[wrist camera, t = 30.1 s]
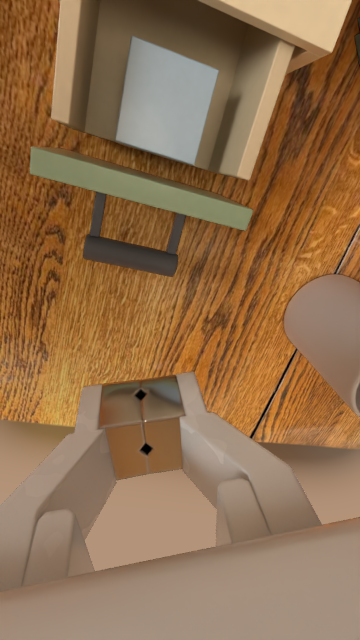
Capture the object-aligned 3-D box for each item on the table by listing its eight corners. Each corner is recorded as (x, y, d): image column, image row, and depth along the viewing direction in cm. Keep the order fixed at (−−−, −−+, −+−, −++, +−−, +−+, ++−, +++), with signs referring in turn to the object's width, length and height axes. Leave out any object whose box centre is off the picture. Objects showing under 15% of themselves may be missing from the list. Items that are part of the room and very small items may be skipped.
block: (116, 143, 20) (114, 141, 17) (129, 58, 19) (131, 34, 15) (181, 163, 22) (194, 165, 18) (200, 85, 20) (219, 69, 16)
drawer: (195, 264, 26) (220, 304, 20) (52, 233, 23) (23, 266, 17) (281, -20, 19) (370, -116, 12) (85, -120, 16) (57, -323, 9)
